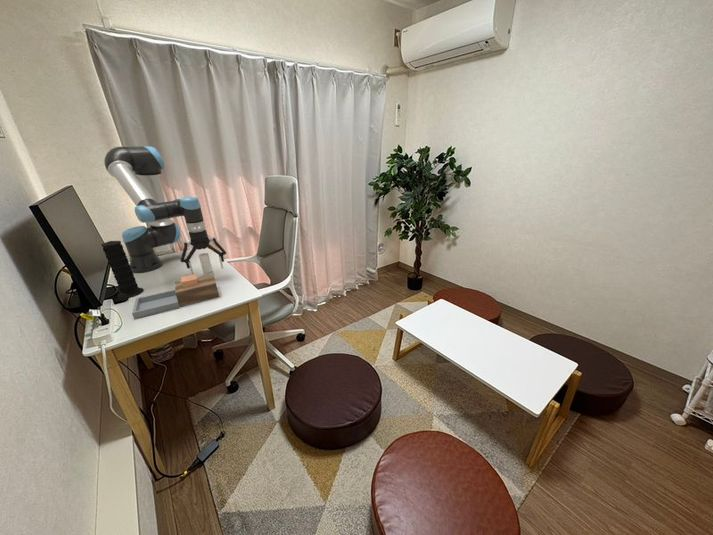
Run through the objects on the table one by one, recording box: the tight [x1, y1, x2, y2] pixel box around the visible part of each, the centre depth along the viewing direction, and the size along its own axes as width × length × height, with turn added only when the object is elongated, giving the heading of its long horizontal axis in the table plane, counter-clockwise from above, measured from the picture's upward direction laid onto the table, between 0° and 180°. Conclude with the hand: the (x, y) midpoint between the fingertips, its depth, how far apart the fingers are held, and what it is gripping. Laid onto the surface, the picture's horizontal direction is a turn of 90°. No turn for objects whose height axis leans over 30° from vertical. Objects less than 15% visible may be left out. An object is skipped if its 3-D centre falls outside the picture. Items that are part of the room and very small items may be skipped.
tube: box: [198, 252, 214, 276], centre depth 139 cm, size 4×4×15 cm
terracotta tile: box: [180, 273, 198, 288], centre depth 124 cm, size 6×6×3 cm
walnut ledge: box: [174, 273, 220, 308], centre depth 127 cm, size 12×16×7 cm
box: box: [131, 289, 181, 320], centre depth 121 cm, size 14×16×3 cm
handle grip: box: [100, 240, 145, 300], centre depth 127 cm, size 10×26×10 cm
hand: (207, 270), depth 140 cm, fingers open, 13 cm apart
